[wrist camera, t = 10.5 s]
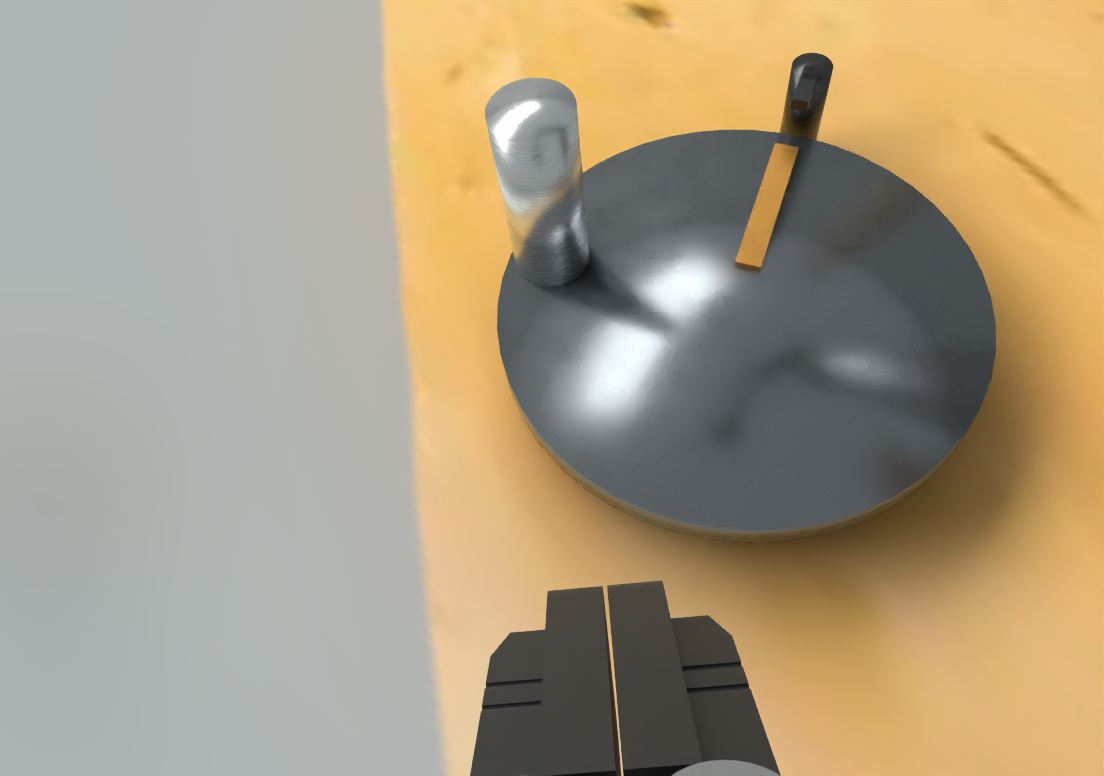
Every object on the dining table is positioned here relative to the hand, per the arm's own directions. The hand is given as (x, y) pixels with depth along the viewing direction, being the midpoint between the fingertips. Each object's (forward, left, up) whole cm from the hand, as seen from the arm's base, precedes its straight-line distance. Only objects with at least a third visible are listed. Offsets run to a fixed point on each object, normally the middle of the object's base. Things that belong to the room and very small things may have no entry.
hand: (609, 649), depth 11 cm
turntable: (-7, -20, -22) cm, 30 cm away
